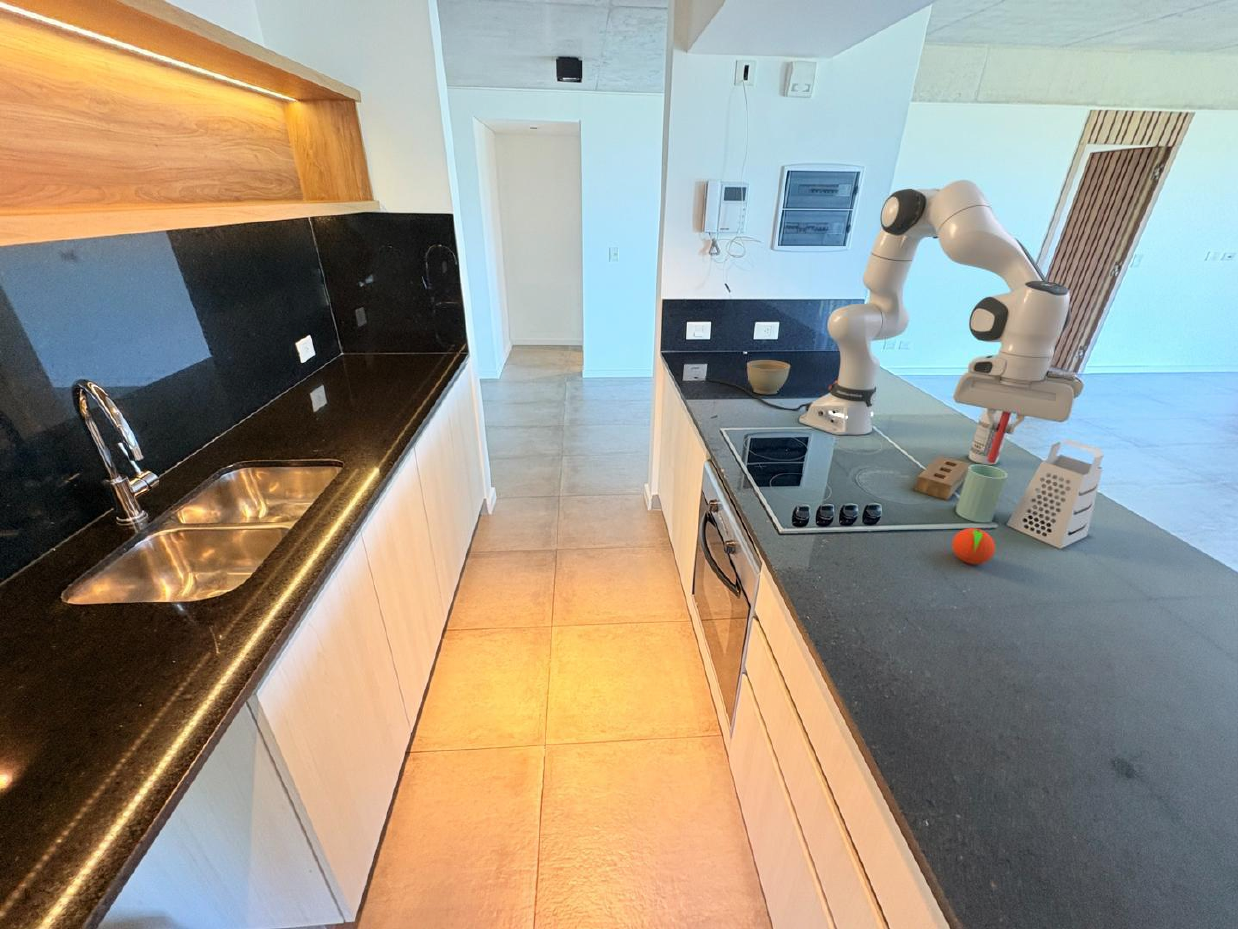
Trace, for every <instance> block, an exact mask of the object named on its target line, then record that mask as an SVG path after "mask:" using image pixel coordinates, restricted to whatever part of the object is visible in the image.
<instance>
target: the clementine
mask: <svg viewBox="0 0 1238 929" xmlns="http://www.w3.org/2000/svg"><path fill="white" fill-rule="evenodd" d="M951 544H952V545H951V546H952V550H953V552H954V554H955V556H956V557H957V558H958V559H959V560H961V561H962V562H964V563H966V564H970V565H981V564H985V563H986V562H989V560H991V558H993V556H994V554H995V550H996V545H995V541H994V539H993V537H992V536H991V535H990V534H989V533H987V532H986V531H985V530H983V529H981V528H975V527H970V528H965V529H962V530H960V531H959V532H957V533H956V534H955V536H954V537H953V539H952V543H951Z"/></svg>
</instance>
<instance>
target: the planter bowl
mask: <svg viewBox="0 0 1238 929" xmlns="http://www.w3.org/2000/svg"><path fill="white" fill-rule="evenodd" d="M746 367H747V368H746V372H747V379H748V381H749V383H750V385H751V387H752V391H753V392H754V393H756V394H759V395H776V394H778V393H779V391H780V389H781V388H782V387H783V385H785V383H786V381H787V379H788V377H789V372H790V370H791V365H790V364H789V363H787V362H784V361H779V360H772V359H771V360H769V359H768V360H767V359H760V360H759V359H758V360H751V361H749V362H747V363H746ZM753 389H754V390H753ZM777 391H778V392H777Z"/></svg>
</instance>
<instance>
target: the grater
mask: <svg viewBox="0 0 1238 929" xmlns="http://www.w3.org/2000/svg"><path fill="white" fill-rule="evenodd" d="M1062 444H1063V445H1066V446H1070V447H1074V448H1077V449H1081V450H1083V451H1087V452H1090V453H1091V454H1092V456H1093V461H1092V464H1091V463H1089V462H1085V461H1082V460H1080V459H1079V460H1078V459H1076V458H1073V457H1069V456H1066V455H1063V454H1059V455H1058V453H1059V451H1060V448H1061V446H1062ZM1104 456H1105V454H1104V452H1103V451H1102V449H1101V448H1100V447H1098V446H1094V445H1090V444H1088V443H1083V442H1079V441H1076V440H1073V439H1070V438H1067V439H1065V440H1061V441H1058V442H1057V443H1054V444H1052V445H1051V448H1050V450H1049V453H1048V455H1047V459H1045V460H1042V461H1041V462H1040V464H1039V466H1038V467H1037V470H1036V472H1035V473H1034V475H1033V477H1032V478H1031V481H1030V482H1029V484H1028V486H1027V487H1026V489H1025V491H1024V493H1023V495H1022V497H1021V498H1020V500H1019V502H1018V503H1017V505H1016V507H1015V509H1014V511H1013V512H1012V514H1011V516H1010V517H1009V520H1008V521H1007V523H1006V526H1008V527H1010V528H1012V529H1014V530H1016V531H1019V532H1022V533H1023V534H1025V535H1027V536H1030V537H1032V538H1035V539H1037V540H1039V541H1042V542H1044V543H1047V544H1048V545H1050V546H1053V547H1055V548H1058V549H1064V548H1065V547H1067V546H1070V545H1071V544H1073V543H1076V542H1078V541H1079V540H1082V539H1083V538H1086V537H1087V536H1088V533H1089V528H1090V524H1091V520H1092V516H1093V511H1094V506H1095V502H1096V498H1097V494H1098V488H1099V485H1100V480H1101V475H1102V471H1103V467H1102V466H1100V465H1101V463H1102V461H1103V458H1104ZM1038 490H1039V491H1038ZM1029 516H1031V517H1032V518H1029ZM1024 519H1026V520H1027V521H1024ZM1035 519H1038V521H1035ZM1042 521H1043V522H1044V523H1041V522H1042ZM1030 522H1032V524H1030ZM1036 524H1038V527H1037V526H1036ZM1047 524H1050V526H1047ZM1025 526H1028V528H1026V527H1025ZM1042 527H1044V528H1045V529H1042ZM1031 528H1033V529H1034V530H1031ZM1048 529H1049V530H1051V532H1050V531H1048ZM1037 531H1039V532H1040V533H1037ZM1073 532H1074V533H1073ZM1043 533H1044V534H1046V536H1044V535H1043ZM1069 533H1072V534H1070V535H1069Z"/></svg>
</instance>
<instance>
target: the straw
mask: <svg viewBox="0 0 1238 929" xmlns="http://www.w3.org/2000/svg"><path fill="white" fill-rule="evenodd" d="M1011 415H1012V413H1009V412H1002V415H1001V418H1000V422H999V425H998V428H997V431H996V434H995V437H994V441H993V444H992V447H991V450H990V453H989V456H988V460H987V461H988V462H990V463H995V462H996V459H997V456H998V452H999V449H1000V446H1001V443H1002V440H1003V437H1004V434H1005V433H1004V431H1005V429H1006V425H1007V424H1008V421H1009V418H1010V417H1011Z"/></svg>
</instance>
